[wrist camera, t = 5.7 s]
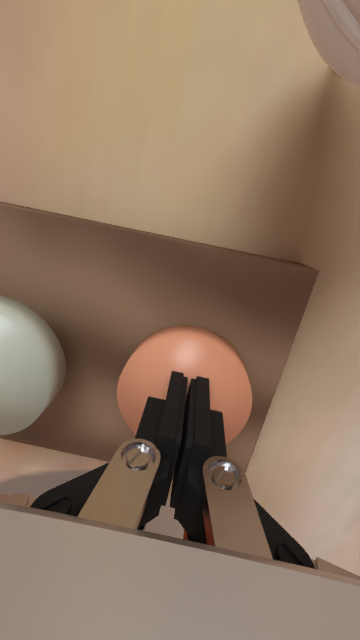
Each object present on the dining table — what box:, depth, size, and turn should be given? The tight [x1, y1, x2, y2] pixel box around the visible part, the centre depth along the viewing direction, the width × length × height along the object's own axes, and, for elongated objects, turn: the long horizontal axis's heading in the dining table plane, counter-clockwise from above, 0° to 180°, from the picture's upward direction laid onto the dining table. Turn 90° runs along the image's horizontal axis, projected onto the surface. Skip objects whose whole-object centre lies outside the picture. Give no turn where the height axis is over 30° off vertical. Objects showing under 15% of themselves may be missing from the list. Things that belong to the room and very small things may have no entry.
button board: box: [0, 202, 319, 475], centre depth 15 cm, size 13×26×2 cm, turn 79°
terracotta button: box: [117, 325, 252, 444], centre depth 13 cm, size 6×6×2 cm
